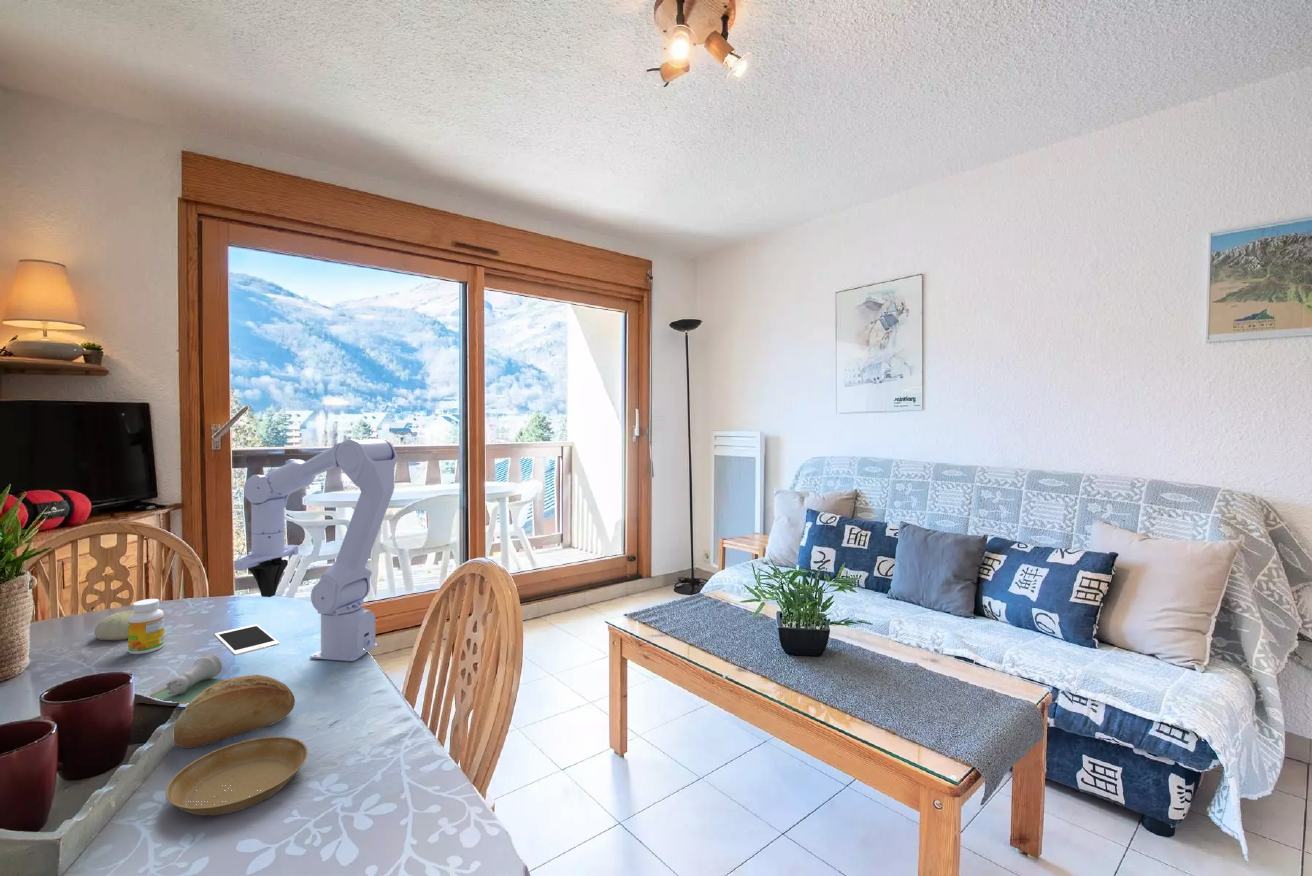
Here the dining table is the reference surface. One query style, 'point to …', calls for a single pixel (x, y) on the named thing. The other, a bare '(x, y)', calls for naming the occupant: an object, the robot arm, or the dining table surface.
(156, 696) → the green chalkboard
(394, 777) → the dining table surface
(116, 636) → the sea urchin shell
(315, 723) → the dining table surface
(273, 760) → the plant saucer
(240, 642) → the cell phone
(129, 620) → the supplement bottle
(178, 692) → the rook chess piece
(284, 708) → the bread roll
